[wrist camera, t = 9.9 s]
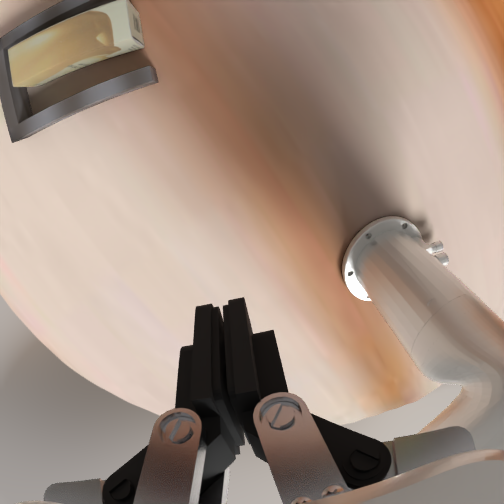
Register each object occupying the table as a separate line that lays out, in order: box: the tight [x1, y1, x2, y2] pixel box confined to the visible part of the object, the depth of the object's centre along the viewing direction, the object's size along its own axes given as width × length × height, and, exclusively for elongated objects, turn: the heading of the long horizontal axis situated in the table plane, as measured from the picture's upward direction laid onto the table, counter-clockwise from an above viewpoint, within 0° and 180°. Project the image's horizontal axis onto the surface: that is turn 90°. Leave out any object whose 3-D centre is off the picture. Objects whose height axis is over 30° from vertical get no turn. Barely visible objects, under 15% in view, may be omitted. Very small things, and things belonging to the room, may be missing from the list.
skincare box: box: [8, 0, 144, 87], centre depth 21 cm, size 6×4×12 cm
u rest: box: [0, 0, 158, 143], centre depth 22 cm, size 16×12×4 cm
